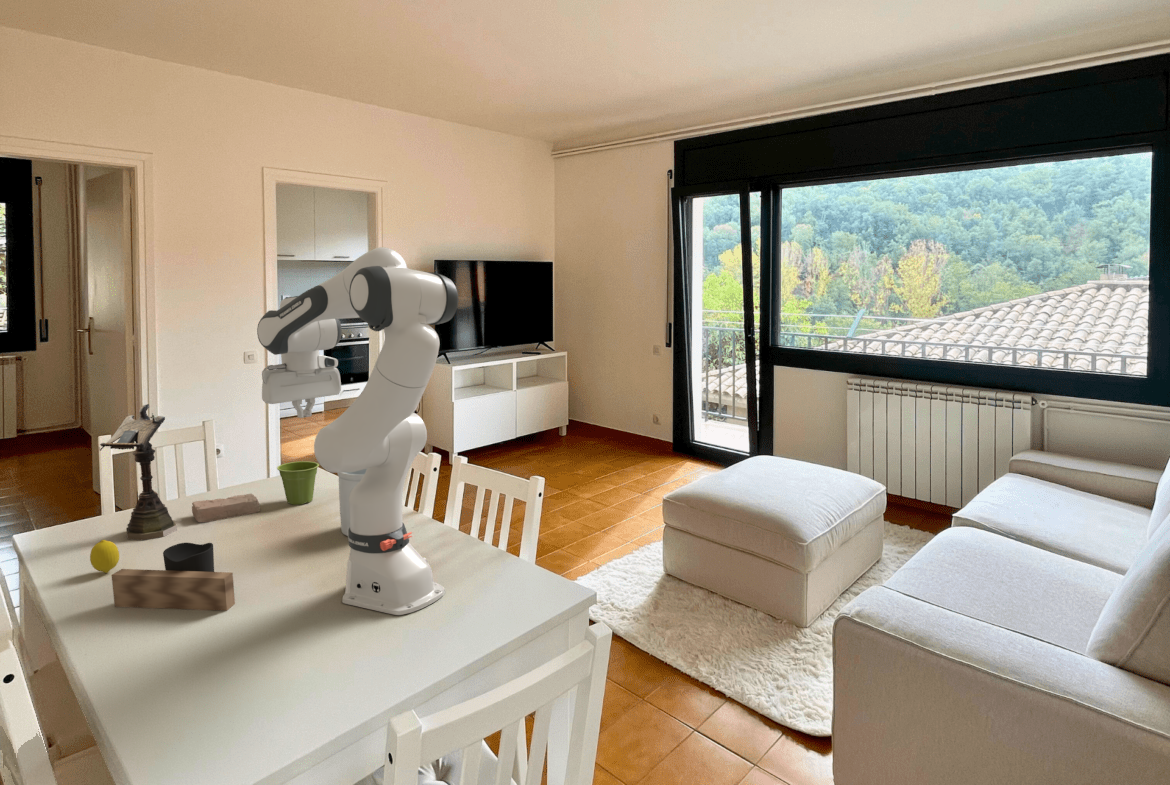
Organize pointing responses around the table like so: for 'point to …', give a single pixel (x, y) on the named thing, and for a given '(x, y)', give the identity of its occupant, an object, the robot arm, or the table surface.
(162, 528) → the ornate lectern
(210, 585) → the walnut board
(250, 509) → the brick
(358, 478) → the utensil holder
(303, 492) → the plant pot
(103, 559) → the lemon
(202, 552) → the pen holder
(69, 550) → the table surface
